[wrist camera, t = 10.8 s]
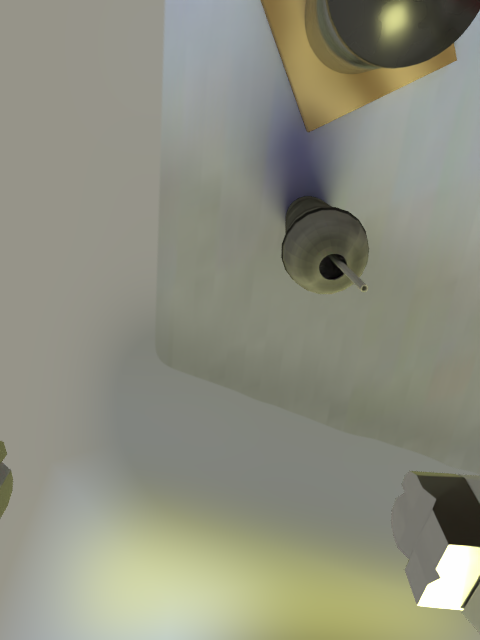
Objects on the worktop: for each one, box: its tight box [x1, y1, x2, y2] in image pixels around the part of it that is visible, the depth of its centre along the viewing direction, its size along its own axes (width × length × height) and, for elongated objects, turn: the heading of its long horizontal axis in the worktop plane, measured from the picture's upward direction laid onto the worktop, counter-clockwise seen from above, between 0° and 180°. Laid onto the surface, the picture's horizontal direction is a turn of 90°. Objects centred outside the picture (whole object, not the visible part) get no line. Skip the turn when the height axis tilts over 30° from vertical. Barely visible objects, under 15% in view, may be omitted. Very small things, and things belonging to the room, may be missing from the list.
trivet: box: [261, 0, 457, 132], centre depth 36 cm, size 14×14×2 cm
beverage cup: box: [282, 196, 369, 294], centre depth 36 cm, size 7×7×20 cm
